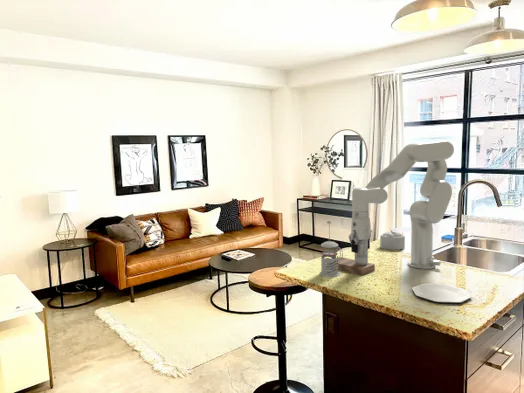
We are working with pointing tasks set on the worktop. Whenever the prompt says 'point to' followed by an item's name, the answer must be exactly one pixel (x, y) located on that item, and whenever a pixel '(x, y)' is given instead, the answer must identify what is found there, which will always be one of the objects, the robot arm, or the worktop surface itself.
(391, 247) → the lumpy-topped squat cylinder
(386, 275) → the worktop surface
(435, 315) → the worktop surface
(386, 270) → the worktop surface
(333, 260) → the french press
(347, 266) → the walnut board
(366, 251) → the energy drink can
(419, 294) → the plate
